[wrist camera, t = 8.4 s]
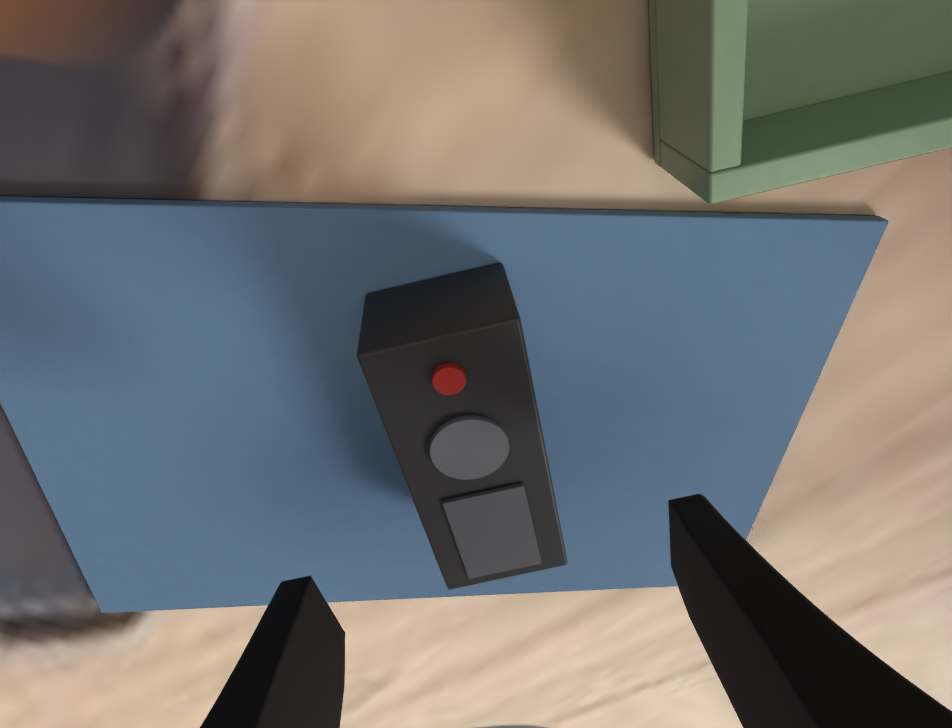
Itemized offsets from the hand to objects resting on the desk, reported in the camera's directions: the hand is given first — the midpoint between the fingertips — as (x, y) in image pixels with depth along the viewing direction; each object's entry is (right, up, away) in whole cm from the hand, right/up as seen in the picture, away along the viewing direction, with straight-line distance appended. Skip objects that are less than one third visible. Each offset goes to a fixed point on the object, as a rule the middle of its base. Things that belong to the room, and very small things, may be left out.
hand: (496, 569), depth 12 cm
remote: (-1, +3, +4) cm, 5 cm away
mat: (-2, +2, +6) cm, 6 cm away
